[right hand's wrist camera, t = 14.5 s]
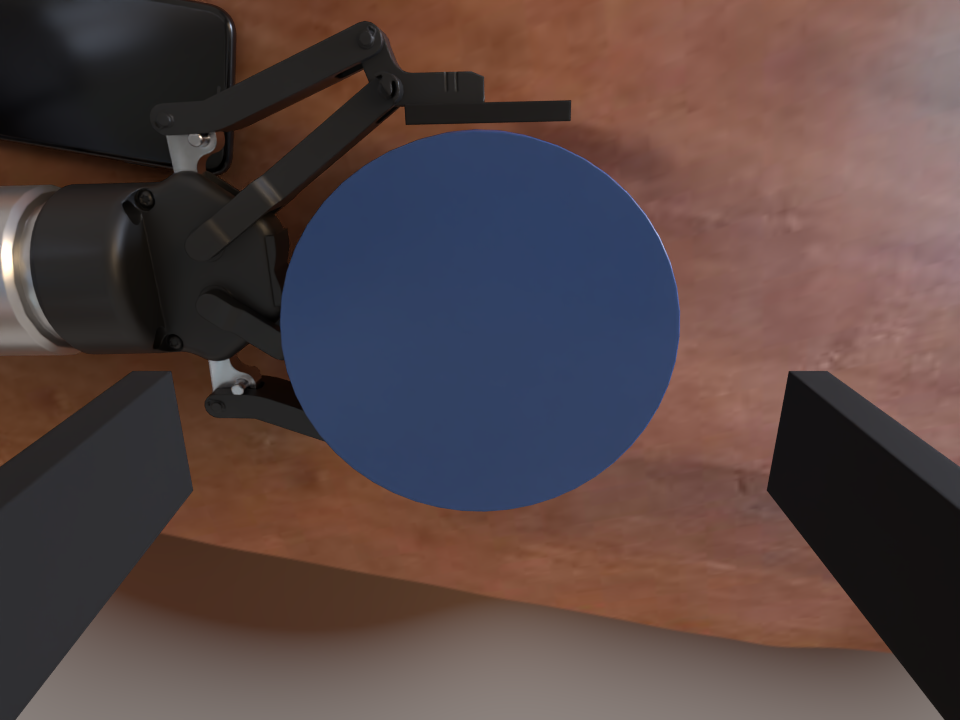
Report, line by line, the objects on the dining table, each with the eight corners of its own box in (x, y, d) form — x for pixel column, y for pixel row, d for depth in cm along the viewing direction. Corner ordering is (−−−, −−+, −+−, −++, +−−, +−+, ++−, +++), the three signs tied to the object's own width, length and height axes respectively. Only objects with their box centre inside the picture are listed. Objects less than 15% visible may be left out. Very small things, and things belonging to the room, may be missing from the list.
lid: (703, 400, 21) (729, 432, 19) (400, 517, 23) (392, 559, 21) (583, 59, 18) (597, 50, 15) (232, 228, 19) (201, 241, 17)
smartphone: (-83, 124, 32) (235, 179, 33) (-99, 124, 31) (228, 181, 32) (-108, -55, 29) (240, 9, 30) (-125, -60, 29) (233, 6, 29)
